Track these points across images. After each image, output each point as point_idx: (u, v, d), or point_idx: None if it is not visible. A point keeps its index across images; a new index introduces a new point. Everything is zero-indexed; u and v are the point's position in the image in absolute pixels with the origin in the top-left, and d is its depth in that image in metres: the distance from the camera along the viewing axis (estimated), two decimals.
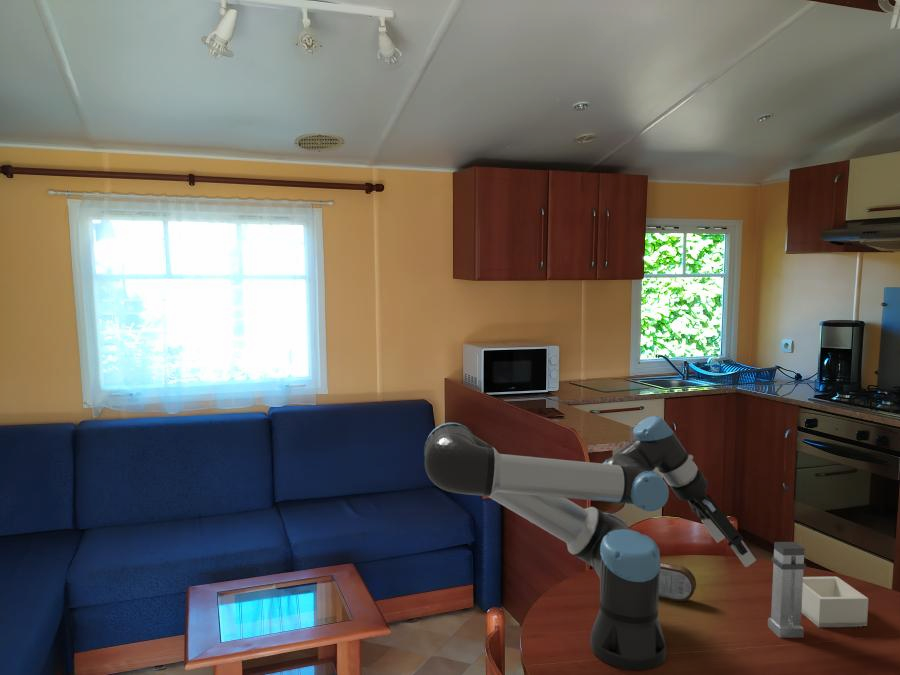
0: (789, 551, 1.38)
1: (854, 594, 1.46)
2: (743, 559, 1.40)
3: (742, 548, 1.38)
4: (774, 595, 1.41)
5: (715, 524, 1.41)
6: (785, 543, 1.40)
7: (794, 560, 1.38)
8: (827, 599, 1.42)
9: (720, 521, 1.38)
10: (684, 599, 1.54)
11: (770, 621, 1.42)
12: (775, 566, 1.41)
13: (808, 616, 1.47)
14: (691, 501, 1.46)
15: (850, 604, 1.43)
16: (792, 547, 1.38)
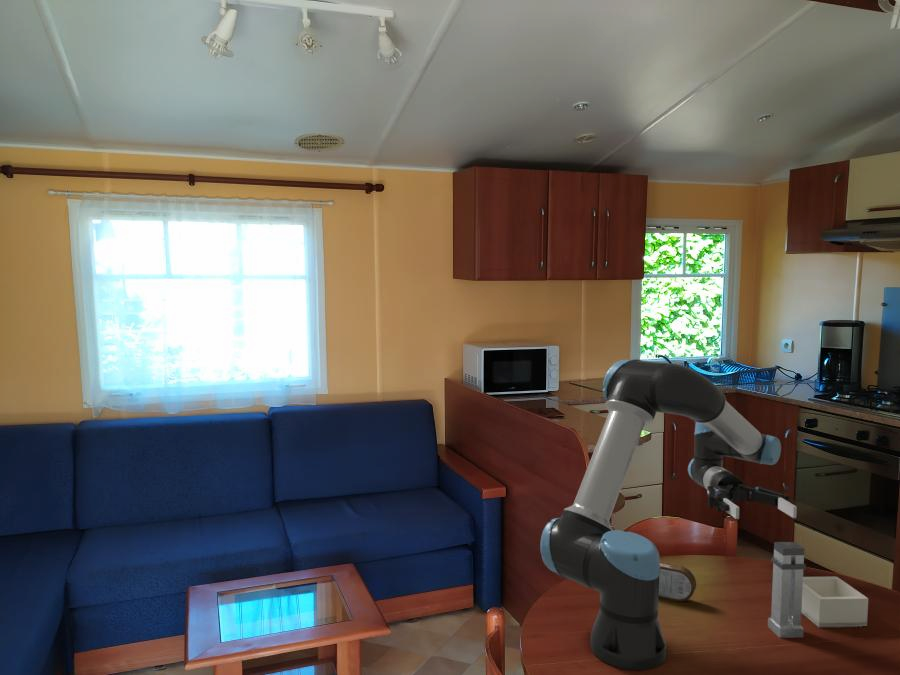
0: (788, 551, 1.38)
1: (854, 594, 1.46)
2: None
3: None
4: (774, 595, 1.41)
5: (764, 492, 1.60)
6: (785, 543, 1.40)
7: (794, 560, 1.38)
8: (827, 599, 1.42)
9: None
10: (684, 599, 1.54)
11: (770, 621, 1.42)
12: (775, 566, 1.41)
13: (808, 616, 1.47)
14: None
15: (850, 604, 1.43)
16: (791, 547, 1.38)
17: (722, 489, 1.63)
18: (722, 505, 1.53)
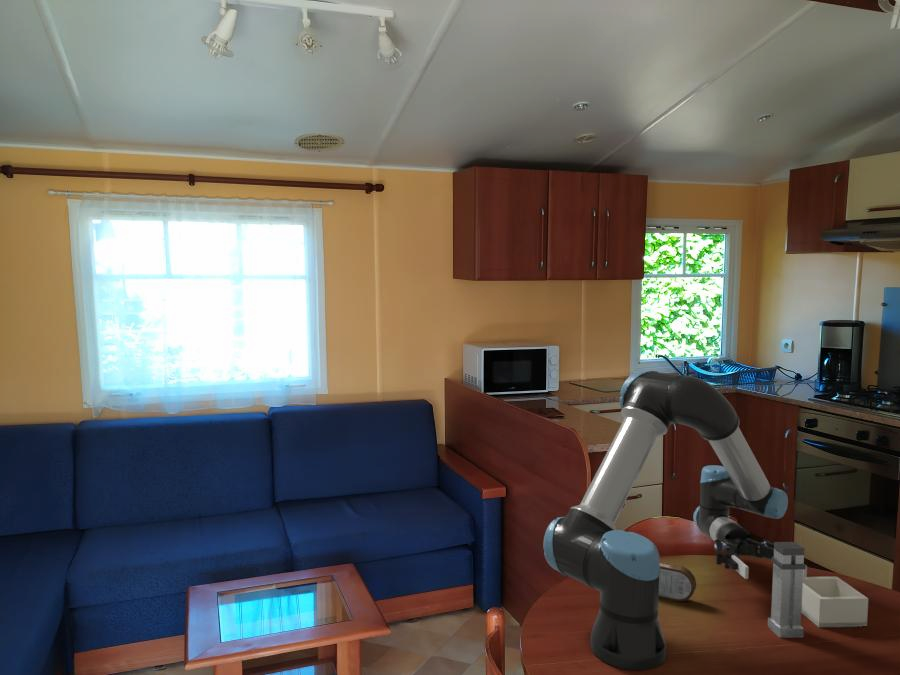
0: (788, 551, 1.38)
1: (854, 594, 1.46)
2: None
3: None
4: (774, 595, 1.41)
5: (772, 548, 1.57)
6: (785, 543, 1.40)
7: (794, 560, 1.38)
8: (827, 599, 1.42)
9: None
10: (684, 599, 1.54)
11: (770, 621, 1.42)
12: (775, 566, 1.41)
13: (808, 616, 1.47)
14: None
15: (850, 604, 1.43)
16: (791, 547, 1.38)
17: (730, 543, 1.60)
18: (731, 563, 1.50)
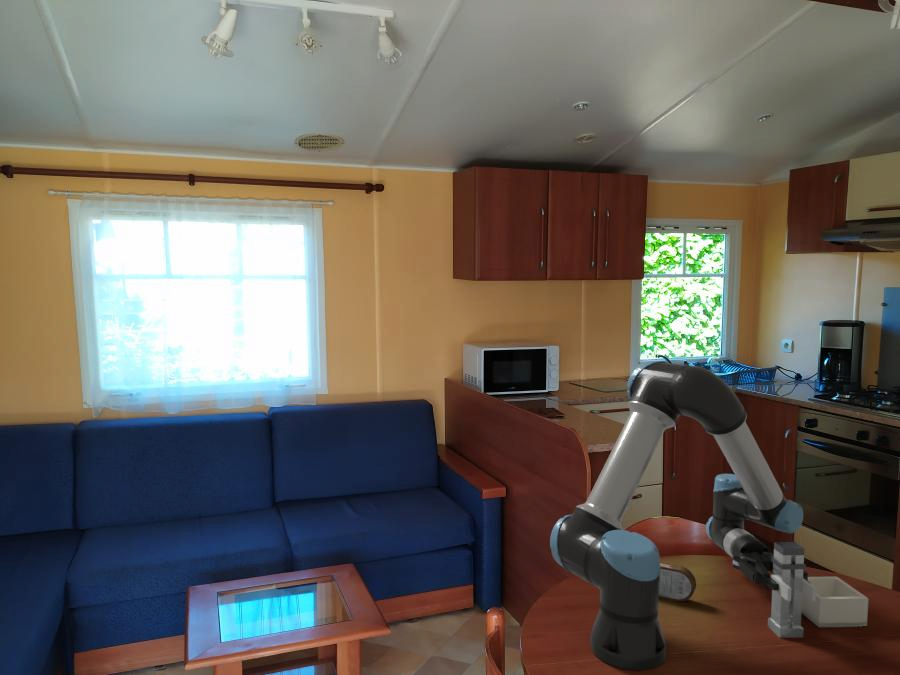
0: (788, 551, 1.38)
1: (854, 594, 1.46)
2: None
3: None
4: (774, 595, 1.41)
5: None
6: (785, 543, 1.40)
7: (794, 560, 1.38)
8: (827, 599, 1.42)
9: None
10: (684, 599, 1.54)
11: (770, 621, 1.42)
12: (775, 566, 1.41)
13: (808, 616, 1.47)
14: None
15: (850, 604, 1.43)
16: (791, 547, 1.38)
17: (748, 557, 1.51)
18: (771, 583, 1.39)
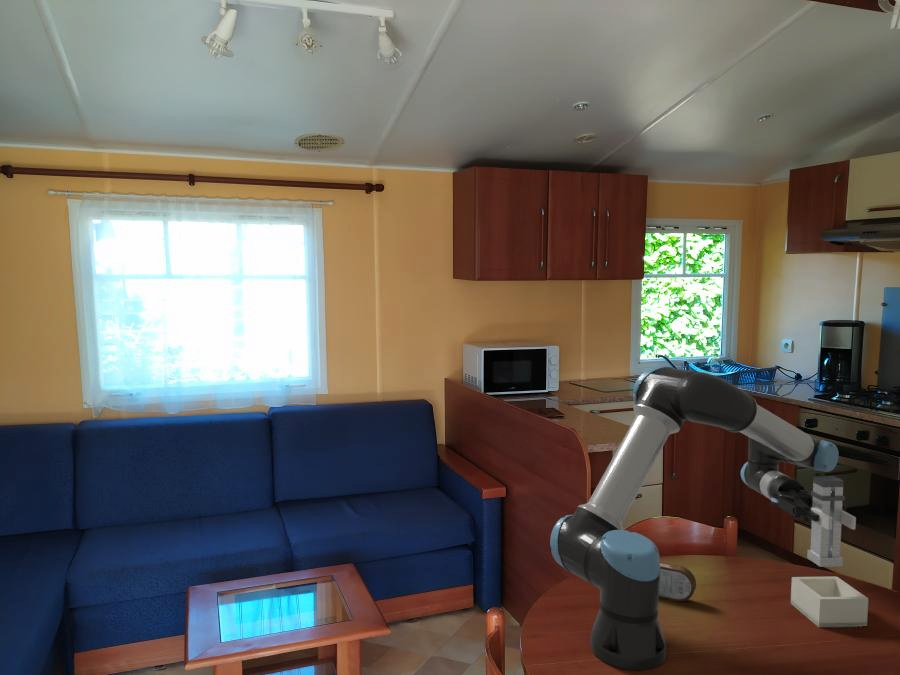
0: (828, 483, 1.43)
1: (854, 594, 1.46)
2: None
3: None
4: (814, 527, 1.47)
5: None
6: (824, 477, 1.46)
7: (833, 492, 1.44)
8: (827, 599, 1.42)
9: None
10: (684, 599, 1.54)
11: (810, 552, 1.48)
12: (814, 499, 1.46)
13: (808, 616, 1.47)
14: None
15: (850, 604, 1.43)
16: (831, 479, 1.44)
17: (786, 495, 1.57)
18: (811, 515, 1.44)
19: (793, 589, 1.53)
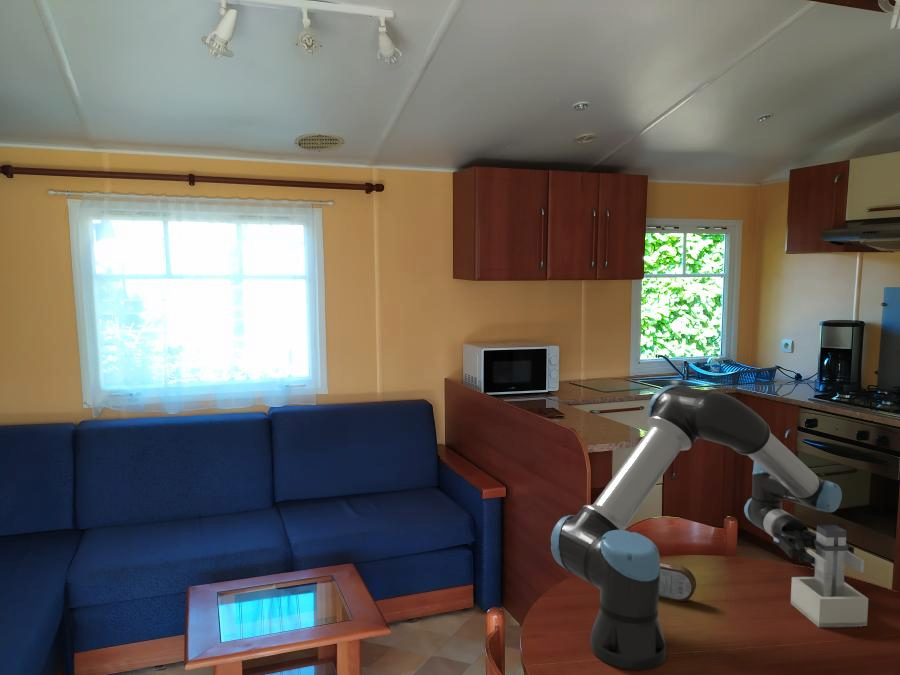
0: (831, 533, 1.45)
1: (854, 594, 1.46)
2: None
3: None
4: (817, 576, 1.49)
5: None
6: (827, 526, 1.48)
7: (836, 542, 1.46)
8: (827, 599, 1.42)
9: None
10: (684, 599, 1.54)
11: None
12: (818, 548, 1.48)
13: (808, 616, 1.47)
14: None
15: (850, 604, 1.43)
16: (834, 529, 1.46)
17: (789, 535, 1.58)
18: (807, 557, 1.47)
19: (793, 589, 1.53)
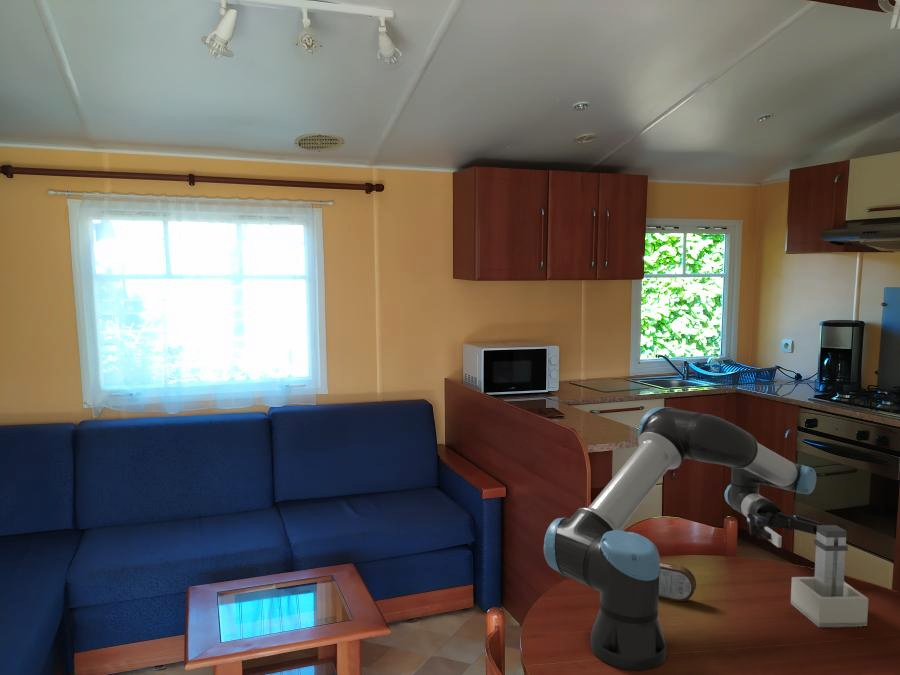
0: (831, 533, 1.45)
1: (854, 594, 1.46)
2: None
3: None
4: (817, 576, 1.49)
5: (802, 520, 1.68)
6: (827, 526, 1.48)
7: (836, 542, 1.46)
8: (827, 599, 1.42)
9: None
10: (684, 599, 1.54)
11: None
12: (818, 548, 1.48)
13: (808, 616, 1.47)
14: None
15: (850, 604, 1.43)
16: (834, 529, 1.46)
17: (761, 517, 1.71)
18: (764, 533, 1.60)
19: (793, 589, 1.53)
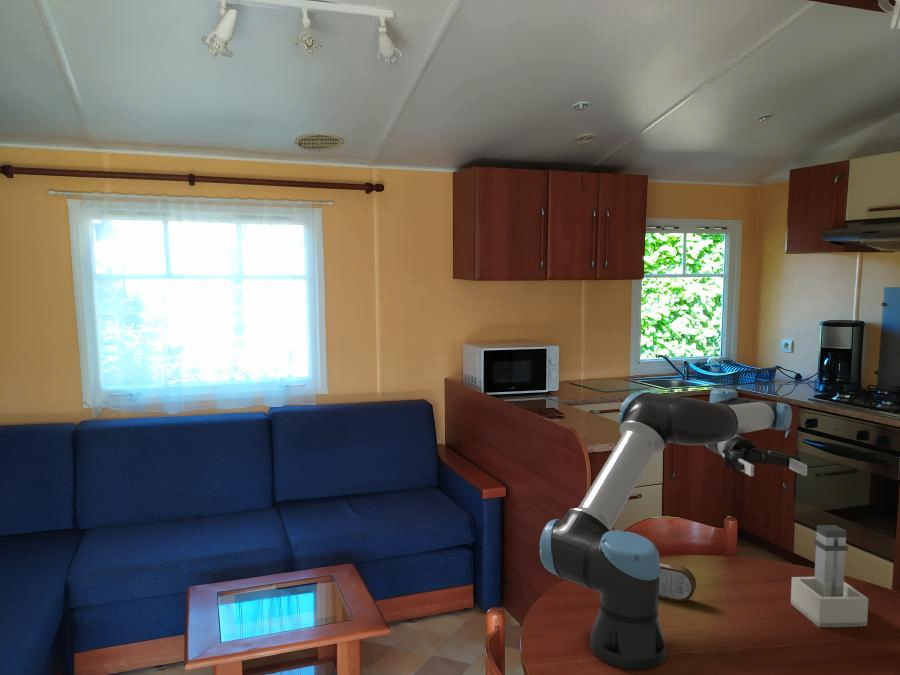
0: (831, 533, 1.45)
1: (854, 594, 1.46)
2: None
3: None
4: (817, 576, 1.49)
5: (776, 454, 1.71)
6: (827, 526, 1.48)
7: (836, 542, 1.46)
8: (827, 599, 1.42)
9: None
10: (684, 599, 1.54)
11: None
12: (818, 548, 1.48)
13: (808, 616, 1.47)
14: None
15: (850, 604, 1.43)
16: (834, 529, 1.46)
17: (736, 452, 1.74)
18: (737, 464, 1.64)
19: (793, 589, 1.53)
